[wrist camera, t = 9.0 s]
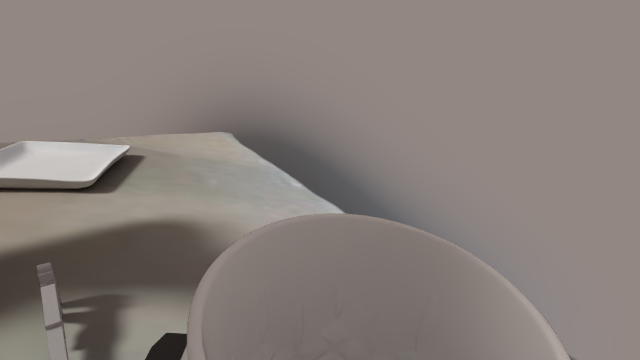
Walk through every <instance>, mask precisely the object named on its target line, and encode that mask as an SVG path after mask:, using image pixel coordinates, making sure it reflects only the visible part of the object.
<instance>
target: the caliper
mask: <svg viewBox="0 0 640 360" xmlns="http://www.w3.org/2000/svg"><path fill="white" fill-rule="evenodd" d="M37 271H38V279H39V282H40V285H41V296H42V304H43V312H44V320H45V327H46V331H47V339H48V348H49V356H50V360H68V354H67V347H66V341H65V339H66V337H65V332H64V326H63V320H62V317H63V312H62V308H61V306H62V304H61V299H60V295H59V291H58V287H57V283H56V279H55V276H54V272H53V268H52V266H51V263H50V262H49V263H45V264H41V265H37Z"/></svg>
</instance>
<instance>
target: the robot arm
mask: <svg viewBox="0 0 640 360" xmlns="http://www.w3.org/2000/svg"><path fill="white" fill-rule="evenodd" d="M145 360H189V358H188V350H187V334H179V333H166V334H165V335H164V336H163V337H162V338H161V339H160V340H158V341H157V342H156V343H155V344H154V345H153V346H152V348H151V349H150V351H149V353H148V355H147V357H146V359H145Z"/></svg>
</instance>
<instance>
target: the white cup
mask: <svg viewBox="0 0 640 360" xmlns="http://www.w3.org/2000/svg"><path fill="white" fill-rule="evenodd" d="M187 350H188V358H189V360H570V358H569V355H568V353H567V352H566V350H565V348H564V346H563V345H562V343H561V341H560V339H559V338H558V336H557V335H556V333H555V331H554V330H553V329H552V327H551V326H550V324H549V323H548V322H547V321H546V319H545V318H544V317H543V315H542V314H541V313H540V312H539V310H538V309H537V308H536V307H535V306H534V305H533V304H532V303H531V302H530V301H529V299H528V298H527V297H526V296H525V295H524V294H523V293H522V292H521V291H519V290H518V289H517V288H516V287H515V286H514V285H513V284H512V283H511V282H509V281H508V280H507V279H506V278H505V277H503V276H502V275H501V274H500V273H498V272H497V271H496V270H494V269H493V268H492V267H490V266H489V265H488V264H486V263H485V262H483V261H482V260H480V259H479V258H477V257H475V256H474V255H472V254H471V253H469V252H467V251H465V250H464V249H462V248H460V247H458V246H456V245H454V244H452V243H450V242H448V241H446V240H444V239H442V238H440V237H438V236H435V235H433V234H431V233H428V232H426V231H423V230H420V229H417V228H415V227H411V226H408V225H405V224H402V223H398V222H394V221H390V220H386V219H381V218H375V217H370V216H363V215H354V214H313V215H304V216H298V217H293V218H288V219H284V220H281V221H277V222H274V223H271V224H268V225H266V226H263V227H261V228H259V229H256V230H254V231H252V232H250V233H249V234H247V235H245V236H243V237H242V238H240V239H239V240H237V241H236V242H234V243H233V244H232V245H230V246H229V247H228V248H227V249H226V250H225V251H223V252H222V253H221V254H220V255H219V256H218V257H217V259H216V260H215V261H214V262H213V263H212V264H211V266H210V267H209V268H208V270H207V271H206V273H205V274H204V276H203V278H202V279H201V281H200V283H199V285H198V287H197V289H196V292H195V294H194V297H193V300H192V304H191V307H190V312H189V317H188V325H187Z"/></svg>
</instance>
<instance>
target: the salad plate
mask: <svg viewBox="0 0 640 360" xmlns="http://www.w3.org/2000/svg"><path fill="white" fill-rule="evenodd" d="M129 149H130V146H126V145H108V144H90V143H69V142H40V141H21V142H18V143H15V144H13V145H10V146H8V147H5V148H2V149H0V188H27V189H77V188H85V187H88V186H90V185H92V184H94V183H95V182H96V180H97V179H98V178H99V177H100V176H101V175H102V174H103V173H104V172H105V171H106V170H107V169H108V168H109V167H110V166H112V165H113V164H114V163H115V162H116V161H118V160H119V159H120V158H122V157H123V156H124V155H125V154H126V153H127V152H128V151H129Z"/></svg>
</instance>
